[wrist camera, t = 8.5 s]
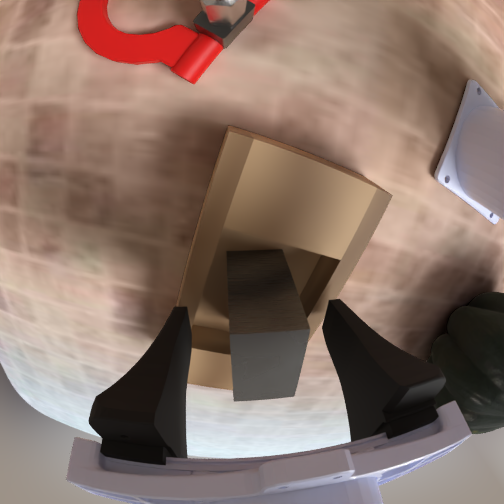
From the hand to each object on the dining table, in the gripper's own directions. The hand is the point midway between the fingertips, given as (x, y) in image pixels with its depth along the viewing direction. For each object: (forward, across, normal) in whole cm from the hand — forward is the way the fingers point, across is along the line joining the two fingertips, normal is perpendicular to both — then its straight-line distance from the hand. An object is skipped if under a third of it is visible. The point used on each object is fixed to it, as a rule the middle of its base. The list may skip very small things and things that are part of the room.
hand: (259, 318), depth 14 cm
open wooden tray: (+4, 0, 0) cm, 4 cm away
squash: (+4, -23, +9) cm, 25 cm away
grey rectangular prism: (+3, 0, 0) cm, 3 cm away
